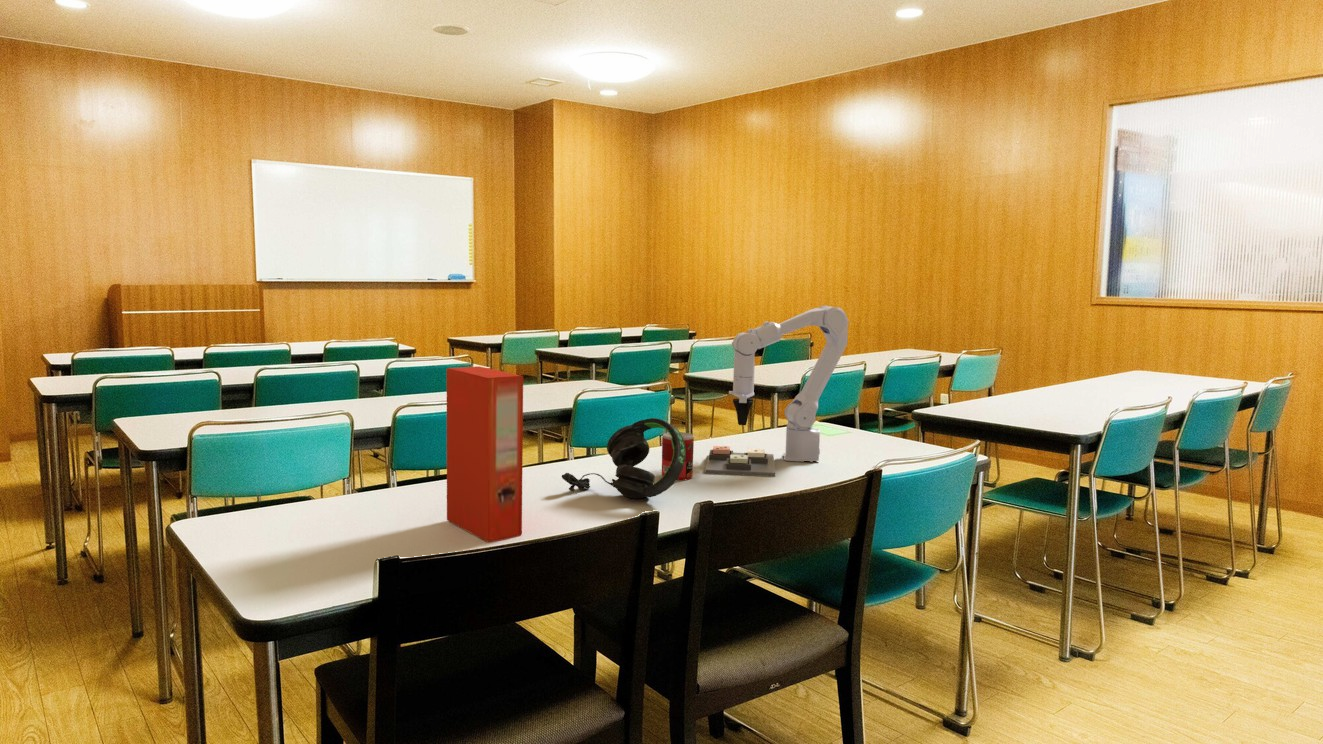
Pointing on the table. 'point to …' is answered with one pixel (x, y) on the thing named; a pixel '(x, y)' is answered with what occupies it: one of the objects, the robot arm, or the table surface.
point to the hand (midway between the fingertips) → (742, 424)
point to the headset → (637, 461)
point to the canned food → (668, 453)
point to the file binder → (485, 452)
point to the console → (741, 465)
